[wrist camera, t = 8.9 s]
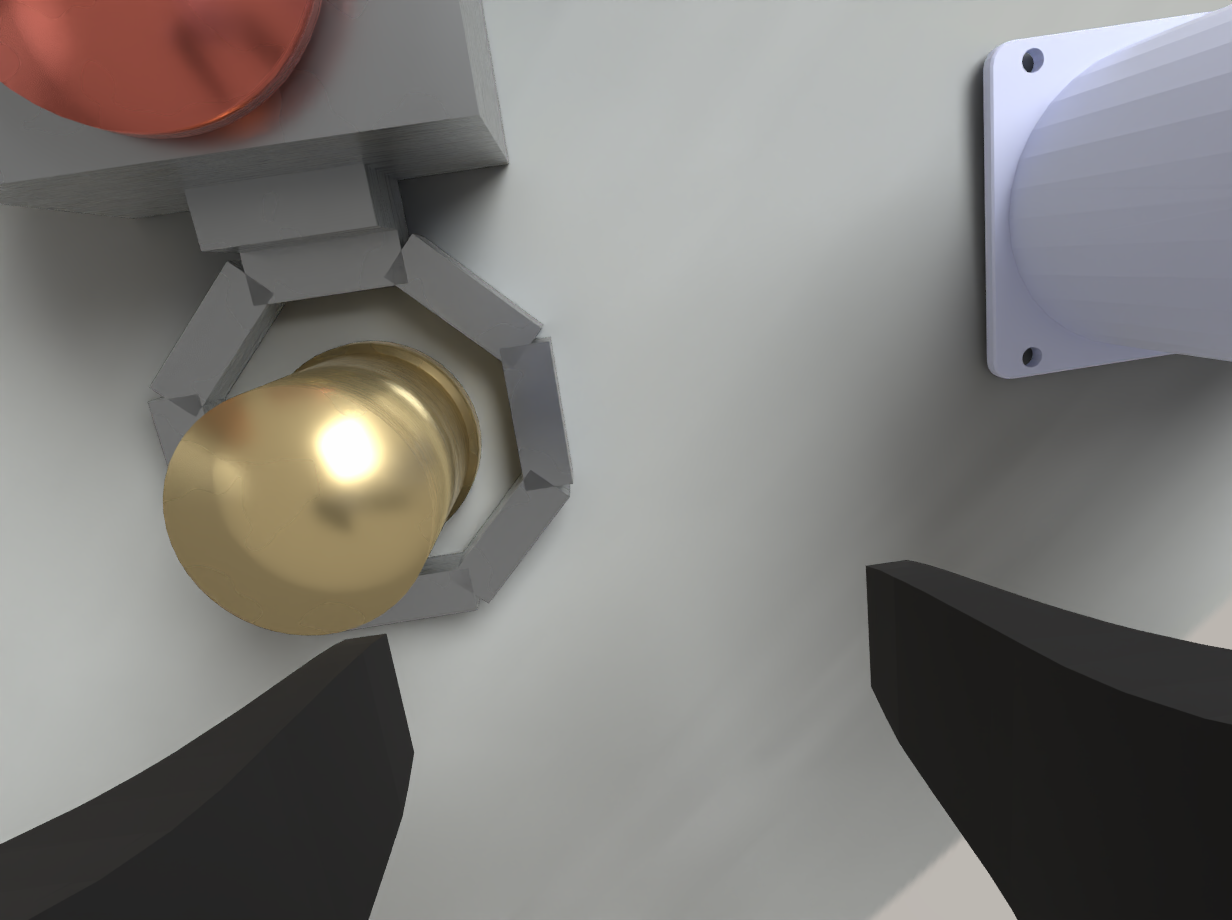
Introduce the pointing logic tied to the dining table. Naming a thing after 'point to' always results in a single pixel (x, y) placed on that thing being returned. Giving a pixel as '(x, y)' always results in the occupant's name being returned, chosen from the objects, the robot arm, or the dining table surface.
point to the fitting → (323, 487)
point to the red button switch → (287, 192)
